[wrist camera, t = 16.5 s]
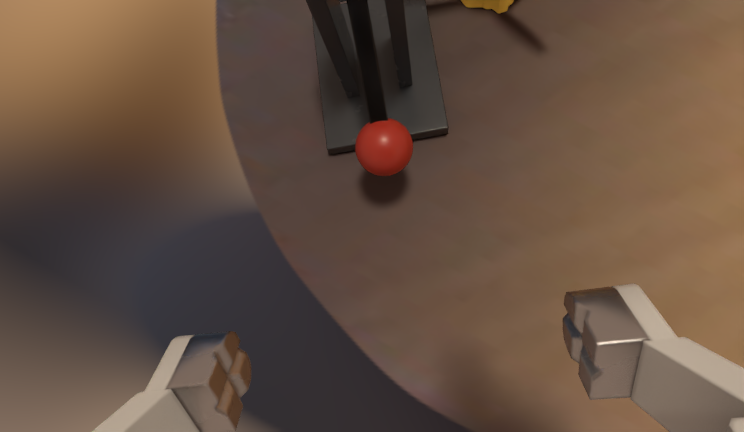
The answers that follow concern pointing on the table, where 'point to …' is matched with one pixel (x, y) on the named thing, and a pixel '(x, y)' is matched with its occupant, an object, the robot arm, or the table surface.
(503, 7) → the figurine
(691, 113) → the table surface
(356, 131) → the switch bracket
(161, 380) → the robot arm
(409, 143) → the switch lever
